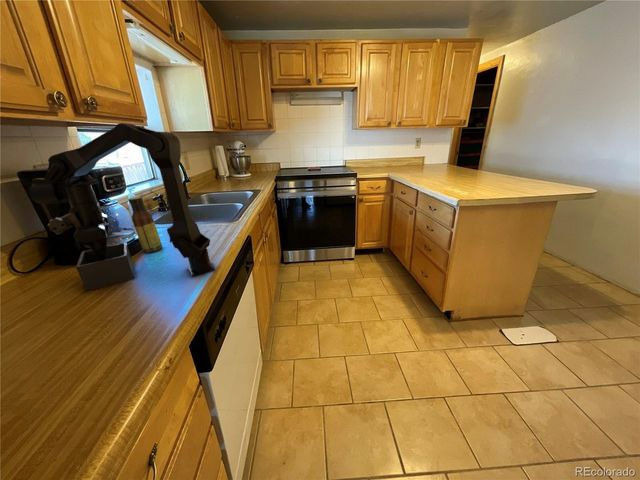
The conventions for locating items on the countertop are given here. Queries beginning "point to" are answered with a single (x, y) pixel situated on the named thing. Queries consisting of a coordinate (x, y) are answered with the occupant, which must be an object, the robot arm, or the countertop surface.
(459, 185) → the countertop surface
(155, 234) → the sauce bottle
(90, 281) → the trash bin
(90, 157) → the robot arm
